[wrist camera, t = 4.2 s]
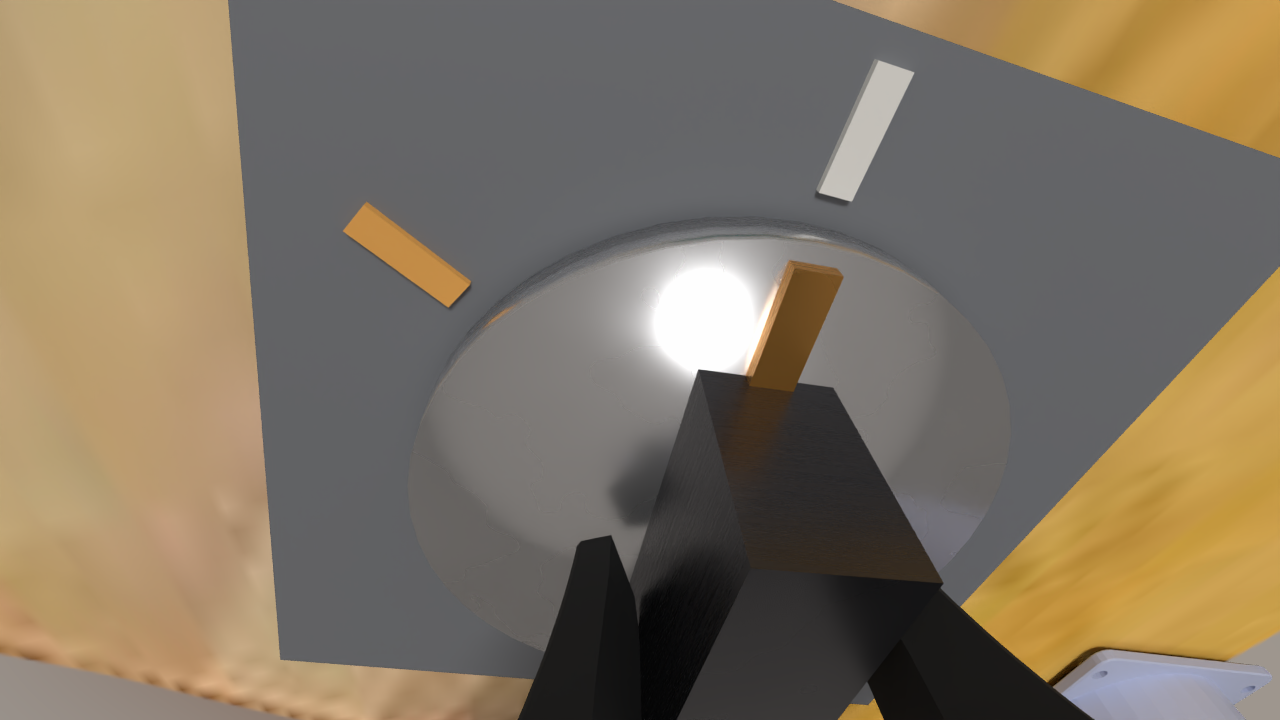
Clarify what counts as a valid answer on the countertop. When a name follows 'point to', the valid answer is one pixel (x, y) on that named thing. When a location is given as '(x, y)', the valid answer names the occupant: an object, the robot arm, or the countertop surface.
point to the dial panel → (675, 191)
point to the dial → (717, 456)
